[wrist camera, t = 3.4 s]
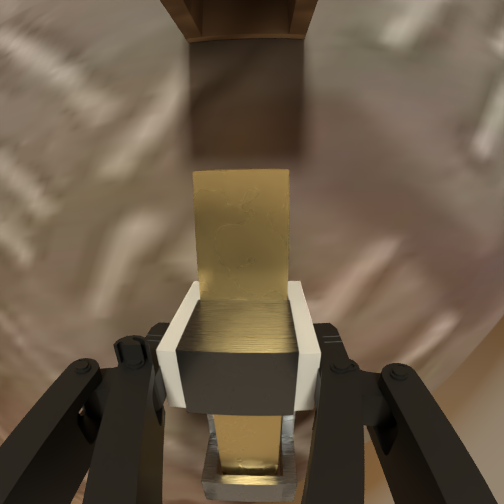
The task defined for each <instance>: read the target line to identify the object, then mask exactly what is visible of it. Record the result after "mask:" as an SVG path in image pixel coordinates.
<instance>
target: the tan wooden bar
mask: <svg viewBox="0 0 504 504" xmlns="http://www.w3.org/2000/svg"><path fill="white" fill-rule="evenodd" d="M193 193H194V215H195V234H196V250H197V264H198V278H199V290H200V300H198V301H197V303H196V305H195V307H194V310H193V312H192V314H191V316H190V318H189V321H188V323H187V325H186V327H185V329H184V332H183V334H182V336H181V338H180V341H179V343H178V345H177V347H176V350H175V351H176V357H177V363H178V369H179V374H180V379H181V385H182V390H183V395H184V400H185V405H186V409H187V412H188V413H200V414H213V416H214V423H215V430H216V436H217V443H218V449H219V455H220V461H221V467H222V473H223V475H240V476H277V468H278V457H279V444H280V431H281V417H282V416H289V415H294V406H295V395H296V384H297V373H298V361H299V348H298V343H297V337H296V332H295V326H294V321H293V315H292V310H291V304H290V300H287V295H288V256H289V169H282V168H256V169H216V170H203V171H193Z"/></svg>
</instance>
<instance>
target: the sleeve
mask: <svg viewBox="0 0 504 504" xmlns="http://www.w3.org/2000/svg"><path fill="white" fill-rule="evenodd" d="M295 413H296V411H294V415H289V416H282V417H281V431H280V444H279V453H280V476H240V475H222V467H221V461H220V455H219V449H218V443H217V436H216V430H215V423H214V416H213V414H207V418H208V424H209V430H210V437H209V442H208V448H207V453H206V458H205V464H204V469H203V475H202V480H201V483H202V486H203V489H204V492H205V496H206V499H210V500H223V501H241V502H283V501H293V500H294V496H295V491H296V486H297V477H296V464H295V452H294V441H293V431H294V422H295Z"/></svg>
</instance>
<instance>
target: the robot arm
mask: <svg viewBox="0 0 504 504" xmlns="http://www.w3.org/2000/svg"><path fill="white" fill-rule="evenodd" d="M198 300H200V290H199V281H194V282H193V284H192V286H191V287H190V289H189V291H188V293H187V295H186V296H185V298H184V300H183V302H182V303H181V305H180V307H179V309H178V311H177V312H176V314H175V316H174V318H173V320H172V322H171V323H158V324H156V325H155V326H153V327H152V328H151V329H150V331H149V332H148V335H147V336H146V337H145V338H144V337H142V336H135V335H133V336H126V337H123V338H121V339H119V340H118V341H116V342H115V344H114V349H115V353H116V356H117V360H118V367H115V368H104V369H100V367H99V364H98V362H97V361H96V360H93V359H89V358H83V359H79V360H76V361H74V362H73V363H71V364H70V365H69V366H68V367H67V368H66V369H65V371H64V372H63V373H62V374H61V375H60V376H59V377H58V378H57V380H56V381H55V382H54V383H53V384H52V385H51V386H50V388H49V389H48V390H47V391H46V392H45V393H44V394H43V396H42V397H41V398H40V399H39V400H38V401H37V403H36V404H35V405H34V406H33V407H32V408H31V410H30V411H29V412H28V413H27V414H26V416H25V417H24V418H23V419H22V420H21V422H20V423H19V424H18V425H17V427H16V428H15V429H14V430H13V431H12V433H11V434H10V435H9V436H8V438H7V439H6V440H5V441H4V443H3V444H2V445H1V447H0V504H70V503H71V501H72V499H73V498H74V496H75V494H76V492H77V490H78V488H79V486H80V484H81V482H82V481H83V479H84V477H85V475H86V473H87V471H88V469H89V468H90V469H89V473H88V478H87V483H86V488H85V493H84V498H83V503H82V504H162V474H163V444H164V425H165V410H164V406H163V403H164V401H165V398H167V402H168V406H173V407H182V408H186V405H185V400H184V395H183V390H182V385H181V379H180V374H179V369H178V363H177V357H176V351H175V350H176V347H177V345H178V343H179V341H180V338H181V336H182V334H183V332H184V329H185V327H186V325H187V323H188V321H189V318H190V316H191V314H192V312H193V310H194V307H195V305H196V303H197V301H198ZM287 300H290V304H291V310H292V315H293V321H294V326H295V332H296V337H297V343H298V348H299V361H298V373H297V384H296V395H295V406H294V411H300V410H313V408H314V402H315V406H316V412H315V417H314V423H313V429H312V430H313V433H312V440H311V447H310V454H309V461H308V467H307V473H306V479H305V485H304V491H303V496H302V501H301V504H364V428H363V425H367V429H368V432H369V434H370V437H371V440H372V442H373V445H374V447H375V450H376V453H377V455H378V458H379V461H380V463H381V466H382V469H383V472H384V474H385V477H386V480H387V482H388V485H389V488H390V491H391V494H392V497H393V500H394V502H395V504H498V503H497V502H496V500H495V498H494V496H493V494H492V492H491V491H490V489H489V487H488V485H487V483H486V482H485V480H484V478H483V476H482V475H481V473H480V471H479V469H478V468H477V466H476V464H475V463H474V461H473V459H472V458H471V456H470V454H469V453H468V451H467V450H466V448H465V446H464V444H463V443H462V441H461V440H460V438H459V437H458V435H457V433H456V432H455V430H454V428H453V427H452V425H451V424H450V422H449V421H448V419H447V418H446V416H445V415H444V413H443V412H442V410H441V409H440V407H439V406H438V404H437V402H436V401H435V399H434V398H433V396H432V395H431V393H430V392H429V390H428V389H427V388H426V386H425V385H424V383H423V382H422V380H421V379H420V377H419V376H418V374H417V373H416V372H415V370H413V369H412V368H411V367H410V366H408V365H405V364H401V363H392V364H389V365H386V366H385V367H384V368H383V369H382V372H381V373H372V372H366V371H362V370H360V369H359V366H358V364H357V363H356V362H355V361H353V360H351V359H349V357H348V355H347V352H346V350H345V347H344V345H343V343H342V340H341V338H340V336H339V333H338V330H337V328H335V327H334V326H333V325H332V324H330V323H317V324H313V323H312V320H311V316H310V313H309V310H308V306H307V303H306V299H305V296H304V293H303V290H302V286H301V283H300V281H288V295H287ZM81 408H82V409H83V410H82V412H81V413H80V414H79V411H80V409H81Z"/></svg>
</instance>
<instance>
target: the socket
mask: <svg viewBox="0 0 504 504" xmlns="http://www.w3.org/2000/svg"><path fill="white" fill-rule="evenodd" d="M160 1H161V3H162V4H163V5H164V7H165V8H166V10H167V11H168V13H169V14H170V16H171V17H172V19H173V20H174V22H175V23H176V25H177V26H178V28H179V29H180V31H181V32H182V34H183V35H184V37H185V38H186V40H187V41H188V43H191V42H200V41H210V40H223V39H241V38H294V39H305V36H306V33H307V30H308V27H309V24H310V21H311V18H312V16H313V13H314V10H315V7H316V4H317V1H318V0H160Z"/></svg>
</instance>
